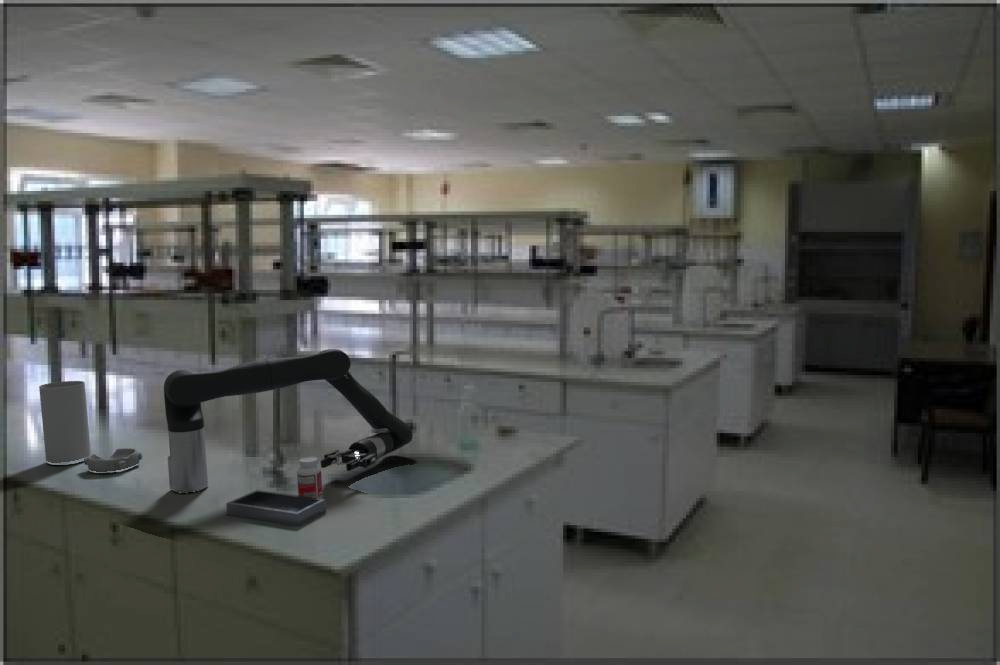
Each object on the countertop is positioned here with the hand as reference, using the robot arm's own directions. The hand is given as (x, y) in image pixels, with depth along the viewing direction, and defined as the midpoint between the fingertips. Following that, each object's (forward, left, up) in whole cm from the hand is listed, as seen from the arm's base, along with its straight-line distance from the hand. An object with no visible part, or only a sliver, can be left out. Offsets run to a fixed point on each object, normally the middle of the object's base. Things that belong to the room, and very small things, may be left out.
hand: (334, 465), depth 206 cm
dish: (-76, -8, -6) cm, 77 cm away
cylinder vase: (-98, -7, -6) cm, 98 cm away
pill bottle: (0, -11, -6) cm, 13 cm away
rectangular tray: (-2, -22, -6) cm, 23 cm away
